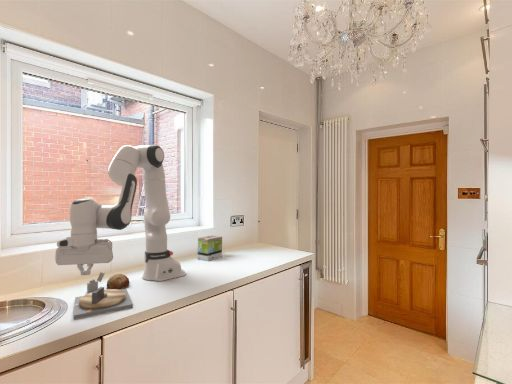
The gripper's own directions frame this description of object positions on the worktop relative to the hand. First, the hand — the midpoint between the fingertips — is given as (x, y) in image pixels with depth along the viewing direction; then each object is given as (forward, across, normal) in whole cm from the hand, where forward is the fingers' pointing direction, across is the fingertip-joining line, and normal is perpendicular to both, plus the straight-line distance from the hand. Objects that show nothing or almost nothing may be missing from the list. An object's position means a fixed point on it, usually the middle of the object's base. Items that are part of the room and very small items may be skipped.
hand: (85, 274), depth 110 cm
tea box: (+17, -42, -81) cm, 93 cm away
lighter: (+14, +7, -22) cm, 28 cm away
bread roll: (+15, -2, -27) cm, 31 cm away
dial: (+13, -4, -5) cm, 14 cm away
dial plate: (+14, -4, -5) cm, 16 cm away
